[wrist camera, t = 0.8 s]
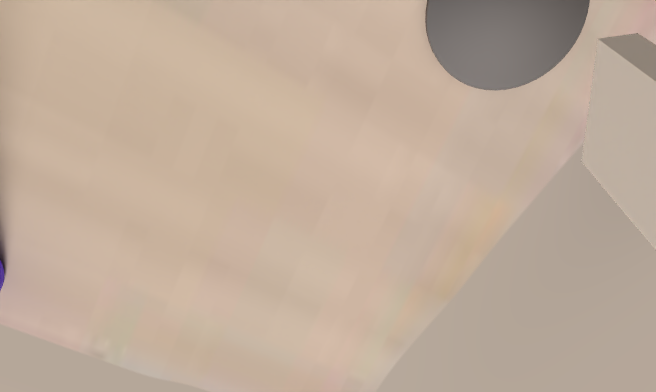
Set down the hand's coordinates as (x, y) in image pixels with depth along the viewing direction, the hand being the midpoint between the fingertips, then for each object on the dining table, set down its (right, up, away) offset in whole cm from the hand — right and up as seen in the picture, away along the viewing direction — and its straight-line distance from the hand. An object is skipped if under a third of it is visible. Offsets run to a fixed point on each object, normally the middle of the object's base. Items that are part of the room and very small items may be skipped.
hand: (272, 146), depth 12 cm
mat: (+12, +10, +25) cm, 30 cm away
